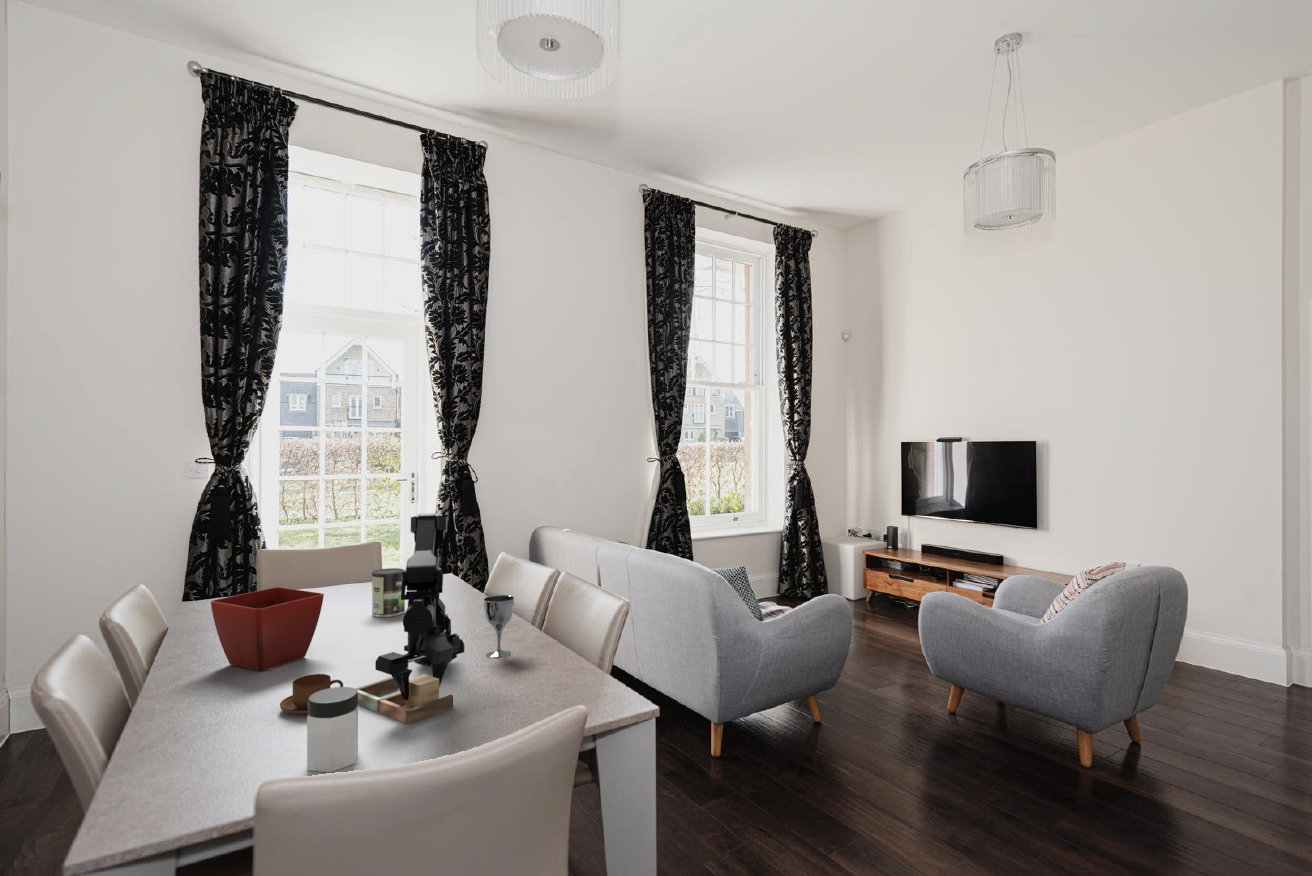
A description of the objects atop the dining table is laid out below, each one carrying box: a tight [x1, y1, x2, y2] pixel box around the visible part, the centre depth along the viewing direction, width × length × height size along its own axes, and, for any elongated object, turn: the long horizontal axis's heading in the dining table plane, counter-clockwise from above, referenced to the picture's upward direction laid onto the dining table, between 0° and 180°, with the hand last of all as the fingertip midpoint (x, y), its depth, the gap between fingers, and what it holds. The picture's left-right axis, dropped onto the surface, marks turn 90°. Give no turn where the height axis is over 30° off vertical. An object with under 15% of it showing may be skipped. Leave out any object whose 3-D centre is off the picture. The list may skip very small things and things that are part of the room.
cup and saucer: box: [279, 673, 344, 715], centre depth 147 cm, size 12×12×6 cm
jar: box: [306, 686, 359, 773], centre depth 122 cm, size 9×8×12 cm
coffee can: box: [371, 567, 406, 618], centre depth 227 cm, size 10×10×14 cm
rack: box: [355, 676, 454, 725], centre depth 149 cm, size 21×11×2 cm, turn 54°
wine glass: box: [483, 594, 515, 659], centre depth 184 cm, size 8×8×15 cm
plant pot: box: [210, 586, 325, 672], centre depth 178 cm, size 19×19×17 cm
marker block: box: [404, 673, 440, 709], centre depth 147 cm, size 5×5×6 cm
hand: (421, 694), depth 147 cm, fingers open, 7 cm apart
